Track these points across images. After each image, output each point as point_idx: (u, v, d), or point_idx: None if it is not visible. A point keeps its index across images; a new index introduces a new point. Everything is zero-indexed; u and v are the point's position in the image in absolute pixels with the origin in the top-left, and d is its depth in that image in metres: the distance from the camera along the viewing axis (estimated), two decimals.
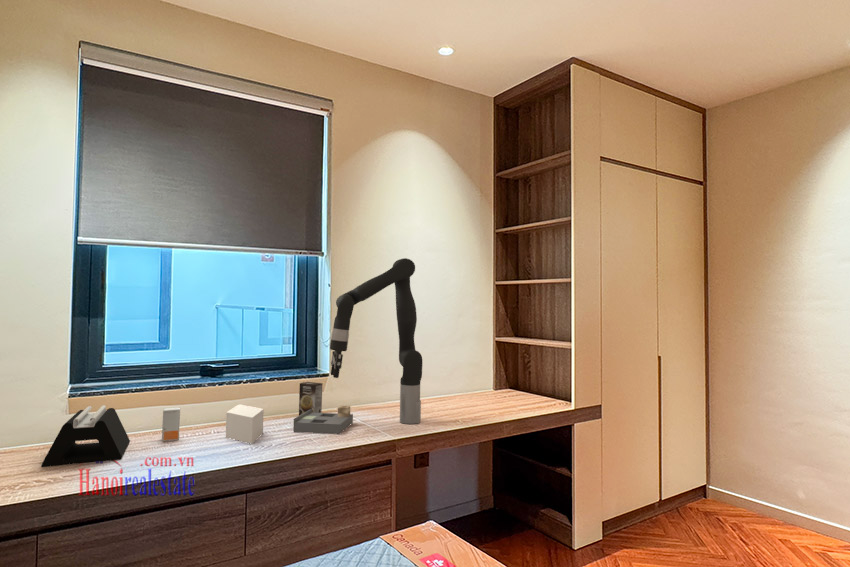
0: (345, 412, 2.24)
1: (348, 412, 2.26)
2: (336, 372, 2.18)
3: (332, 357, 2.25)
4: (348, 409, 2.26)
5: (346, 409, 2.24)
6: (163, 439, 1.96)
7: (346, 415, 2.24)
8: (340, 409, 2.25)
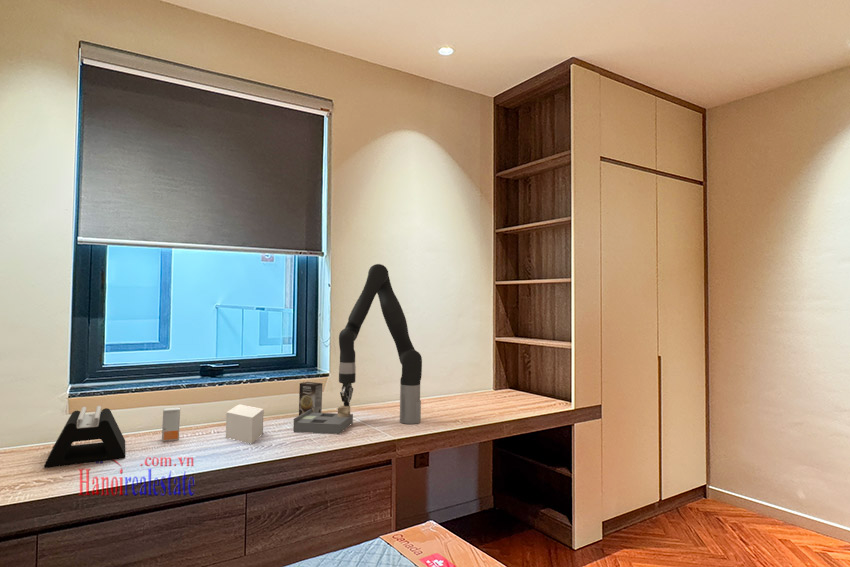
0: (345, 412, 2.24)
1: (348, 412, 2.26)
2: (345, 405, 2.30)
3: None
4: (348, 409, 2.26)
5: (346, 409, 2.24)
6: (163, 439, 1.96)
7: (346, 415, 2.24)
8: (340, 409, 2.25)
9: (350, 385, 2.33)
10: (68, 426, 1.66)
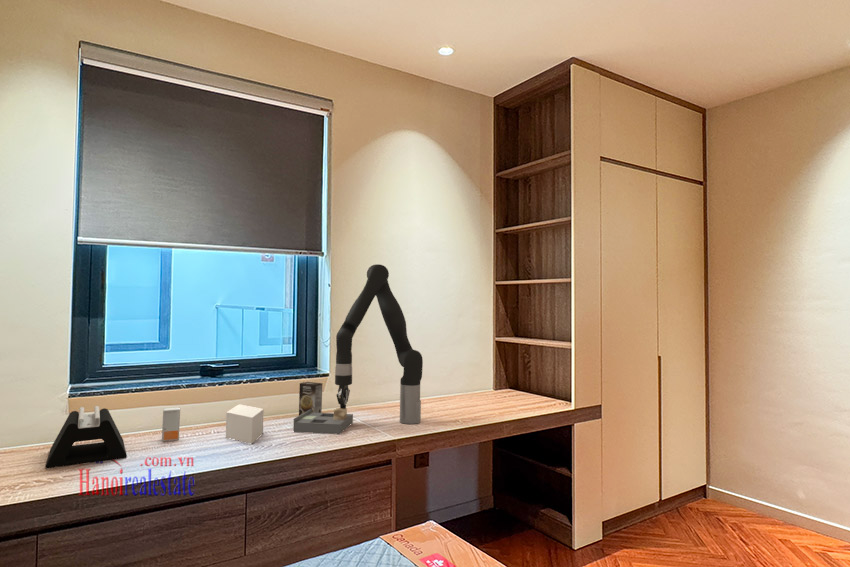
0: (341, 415, 2.19)
1: (344, 415, 2.20)
2: None
3: None
4: (344, 412, 2.20)
5: (342, 412, 2.19)
6: (163, 439, 1.96)
7: (342, 418, 2.19)
8: (336, 412, 2.19)
9: (347, 387, 2.27)
10: (69, 426, 1.66)
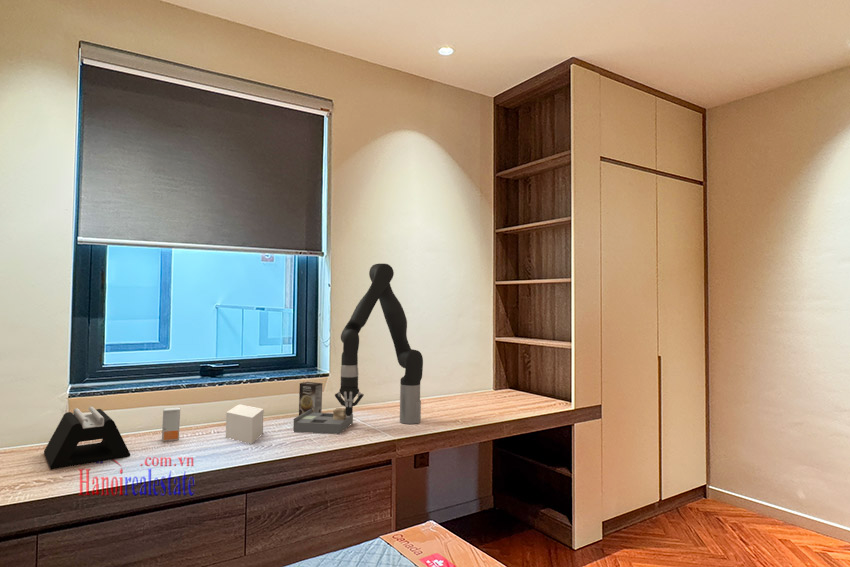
0: (341, 415, 2.19)
1: (344, 415, 2.20)
2: None
3: None
4: (344, 412, 2.20)
5: (342, 412, 2.19)
6: (163, 439, 1.96)
7: (342, 418, 2.19)
8: (336, 412, 2.19)
9: (352, 390, 2.19)
10: (74, 426, 1.66)
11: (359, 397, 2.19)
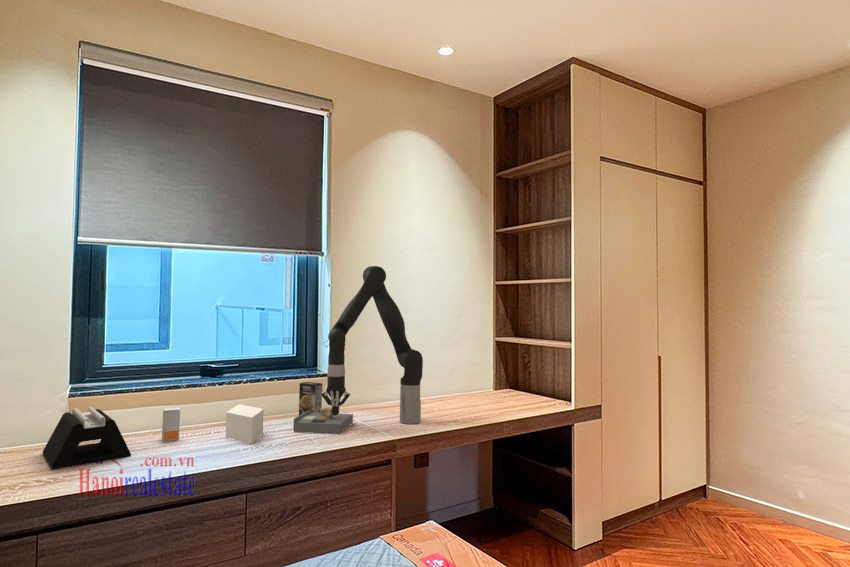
0: (327, 414, 2.20)
1: (330, 414, 2.21)
2: None
3: None
4: (330, 411, 2.21)
5: (328, 411, 2.20)
6: (163, 439, 1.96)
7: (328, 417, 2.19)
8: (322, 411, 2.20)
9: (339, 389, 2.20)
10: (75, 427, 1.66)
11: (346, 396, 2.19)
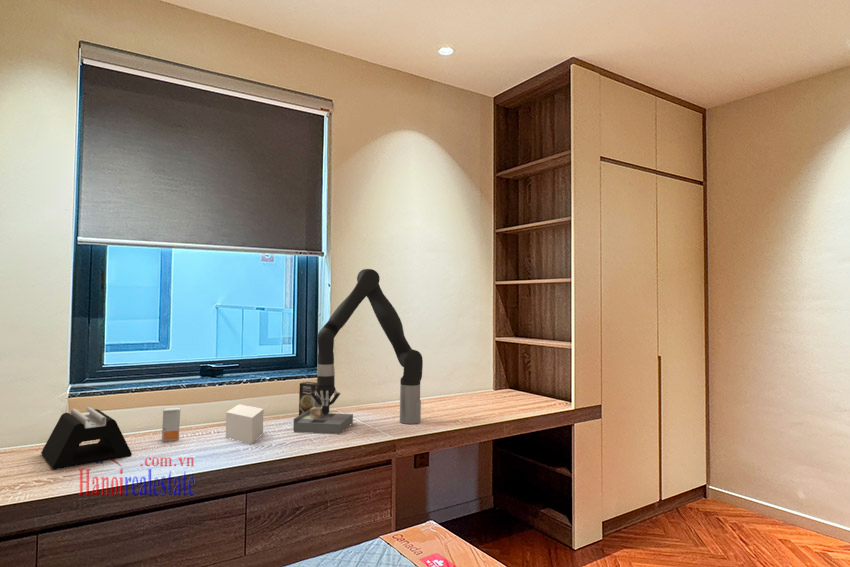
0: (317, 414, 2.20)
1: (321, 414, 2.22)
2: None
3: None
4: (321, 411, 2.22)
5: (318, 411, 2.20)
6: (163, 439, 1.96)
7: (318, 417, 2.20)
8: (312, 411, 2.21)
9: (329, 389, 2.21)
10: (76, 427, 1.66)
11: (335, 396, 2.20)
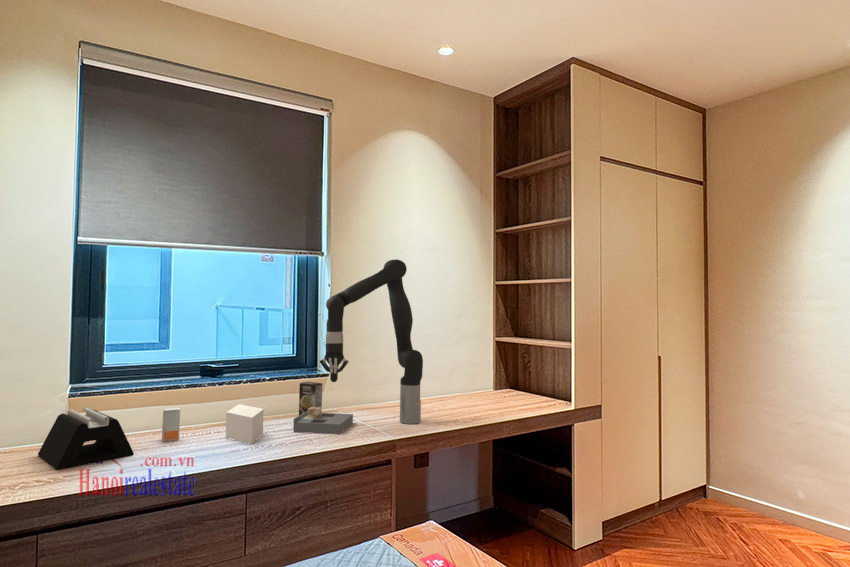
0: (315, 413, 2.21)
1: (318, 414, 2.22)
2: None
3: None
4: (318, 410, 2.22)
5: (316, 410, 2.20)
6: (163, 439, 1.96)
7: (316, 417, 2.20)
8: (310, 410, 2.21)
9: (337, 356, 2.21)
10: (80, 427, 1.66)
11: (344, 363, 2.20)
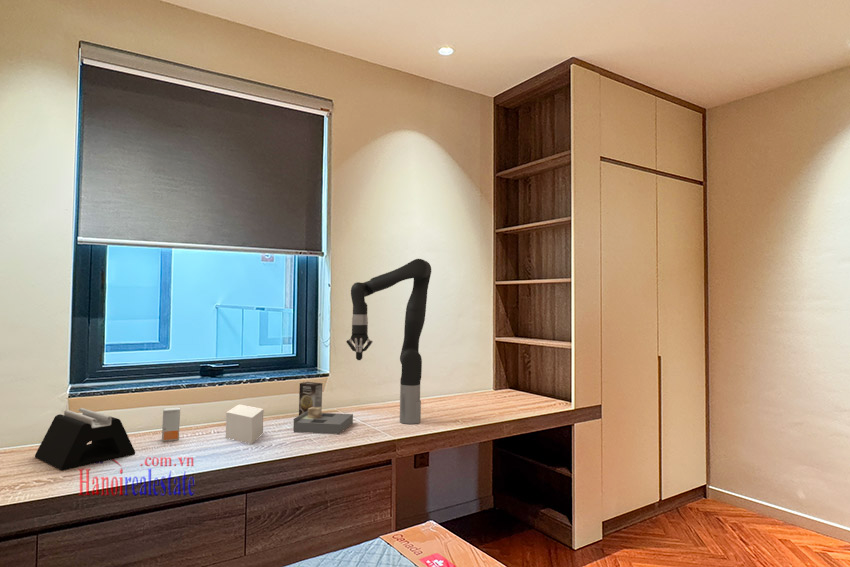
0: (315, 413, 2.21)
1: (318, 414, 2.22)
2: None
3: None
4: (318, 410, 2.22)
5: (316, 410, 2.20)
6: (163, 439, 1.96)
7: (316, 417, 2.20)
8: (310, 410, 2.21)
9: (362, 337, 2.43)
10: (83, 427, 1.66)
11: (368, 343, 2.43)
